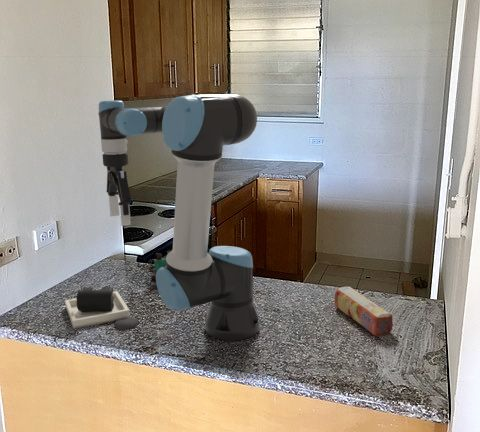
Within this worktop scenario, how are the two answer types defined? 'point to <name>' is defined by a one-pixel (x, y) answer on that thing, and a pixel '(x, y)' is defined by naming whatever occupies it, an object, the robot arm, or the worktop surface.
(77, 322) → the mount tray
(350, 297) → the snack package
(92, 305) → the end cap
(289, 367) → the worktop surface
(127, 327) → the lens cap
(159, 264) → the binoculars
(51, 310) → the worktop surface
